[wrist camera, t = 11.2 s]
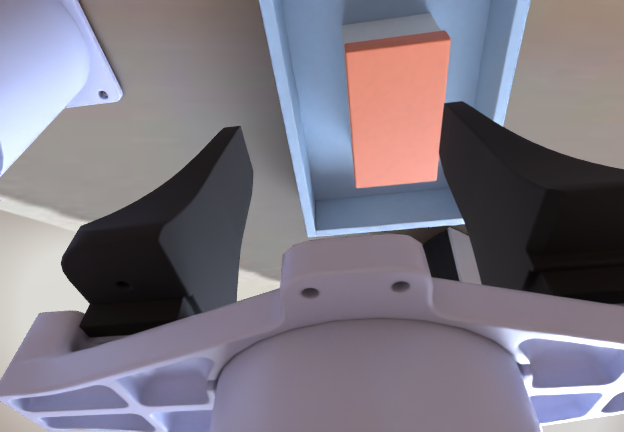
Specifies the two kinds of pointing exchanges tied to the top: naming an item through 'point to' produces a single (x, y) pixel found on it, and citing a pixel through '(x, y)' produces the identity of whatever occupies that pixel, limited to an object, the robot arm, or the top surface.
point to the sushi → (395, 98)
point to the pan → (334, 106)
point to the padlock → (452, 257)
